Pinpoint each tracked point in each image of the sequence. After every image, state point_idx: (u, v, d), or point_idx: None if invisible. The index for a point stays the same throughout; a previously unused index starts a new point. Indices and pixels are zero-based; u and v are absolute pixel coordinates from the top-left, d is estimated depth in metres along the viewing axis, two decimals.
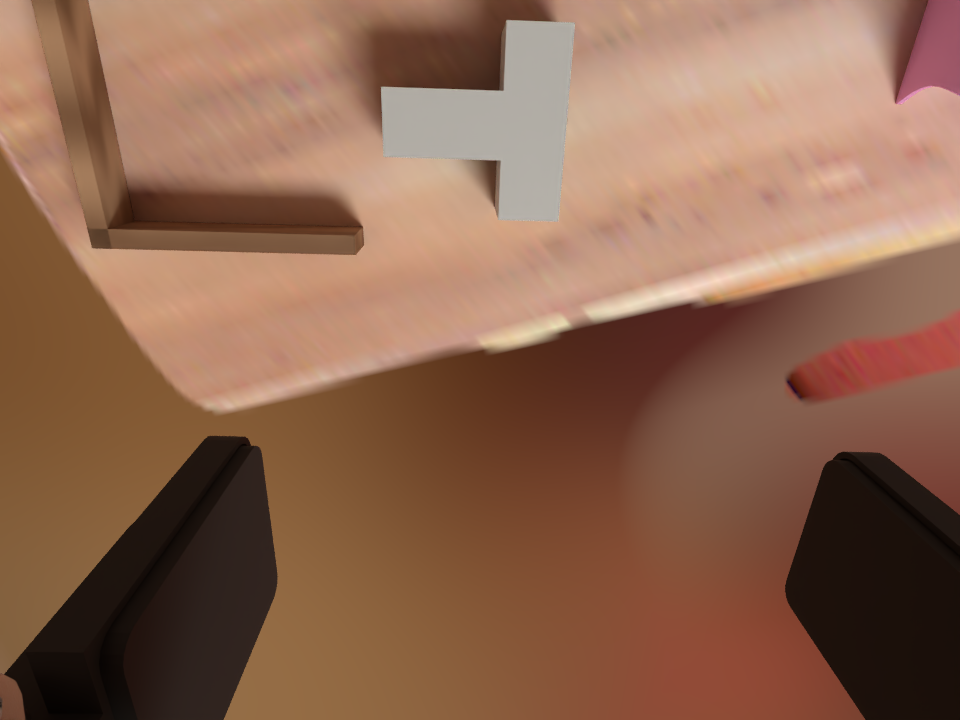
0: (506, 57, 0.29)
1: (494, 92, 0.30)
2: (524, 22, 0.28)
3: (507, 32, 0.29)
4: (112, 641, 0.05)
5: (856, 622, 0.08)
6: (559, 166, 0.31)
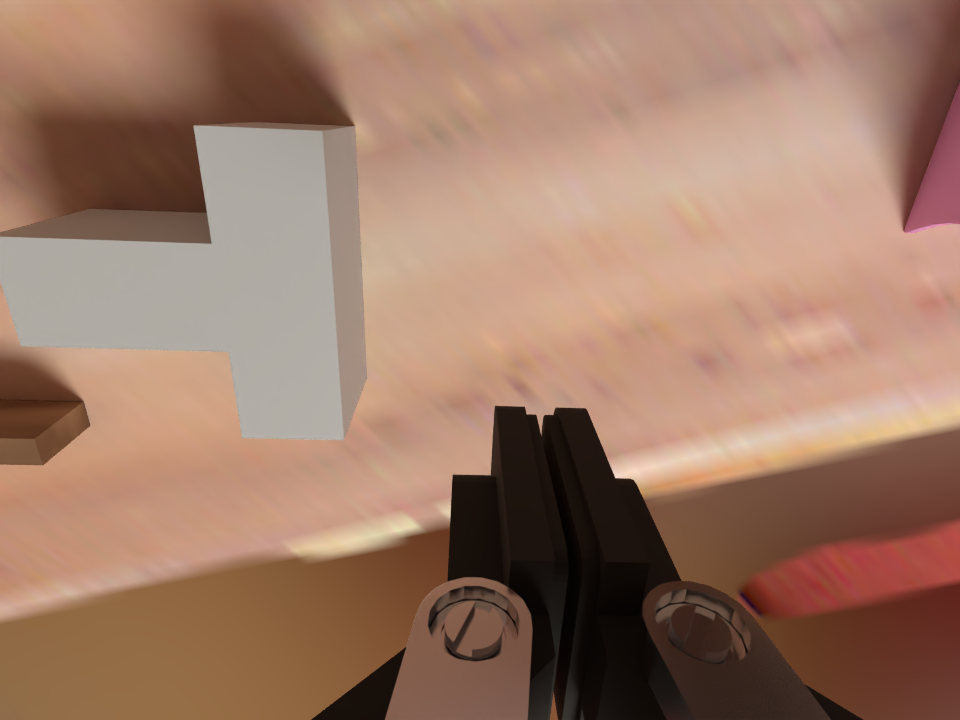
0: (206, 189, 0.16)
1: (195, 246, 0.17)
2: (228, 129, 0.15)
3: (199, 146, 0.15)
4: (556, 556, 0.07)
5: None
6: (332, 360, 0.18)
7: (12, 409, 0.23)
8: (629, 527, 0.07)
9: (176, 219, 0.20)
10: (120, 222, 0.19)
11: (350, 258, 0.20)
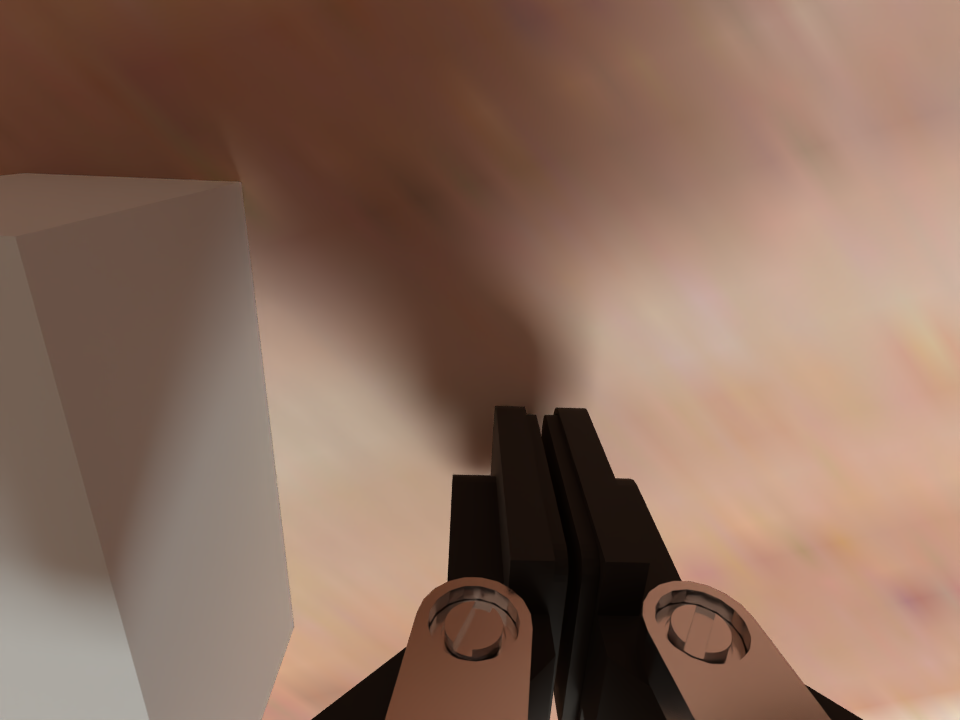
0: None
1: None
2: None
3: None
4: (557, 556, 0.07)
5: None
6: None
7: None
8: (629, 527, 0.07)
9: None
10: None
11: (224, 472, 0.09)
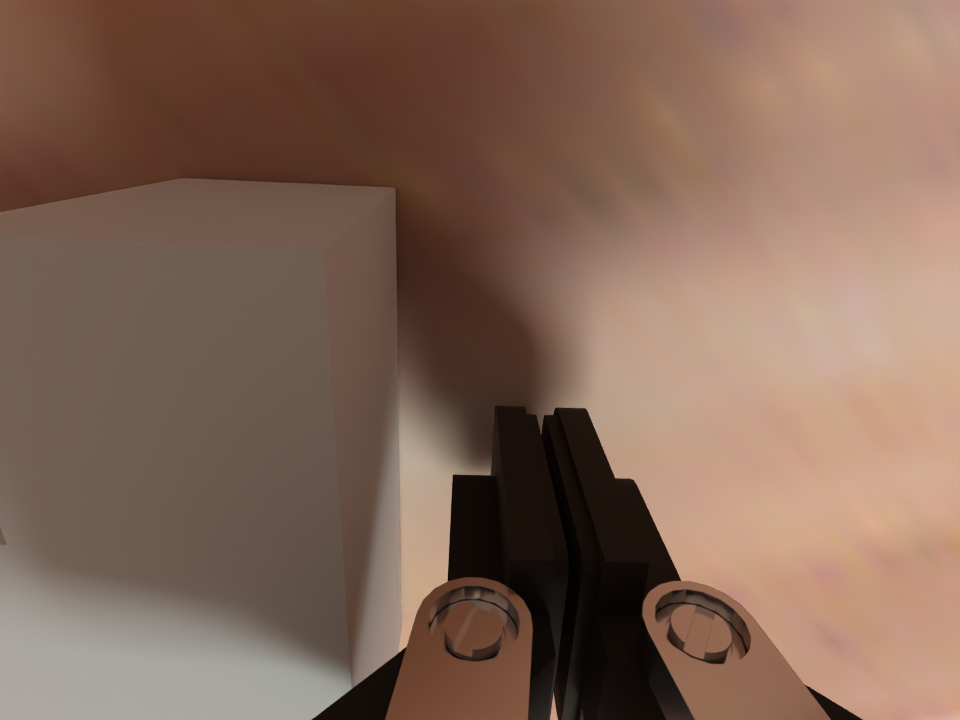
0: None
1: None
2: (14, 244, 0.05)
3: None
4: (557, 556, 0.07)
5: None
6: None
7: None
8: (629, 527, 0.07)
9: None
10: None
11: (383, 476, 0.09)
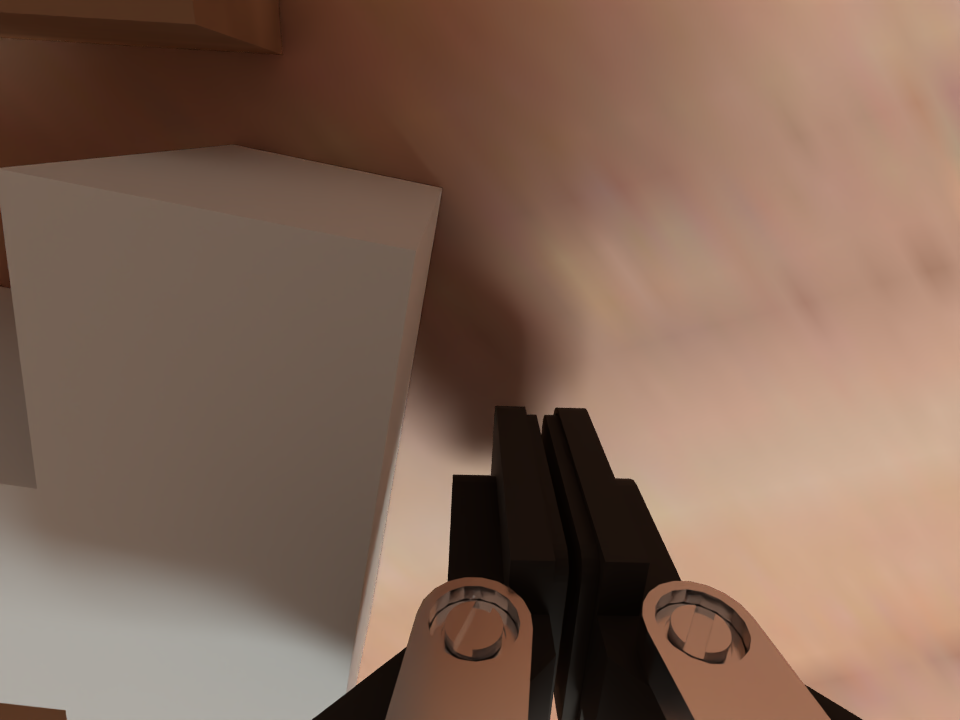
0: (29, 353, 0.05)
1: None
2: (114, 199, 0.05)
3: (12, 235, 0.05)
4: (557, 556, 0.07)
5: None
6: None
7: None
8: (629, 527, 0.07)
9: None
10: None
11: (391, 466, 0.09)
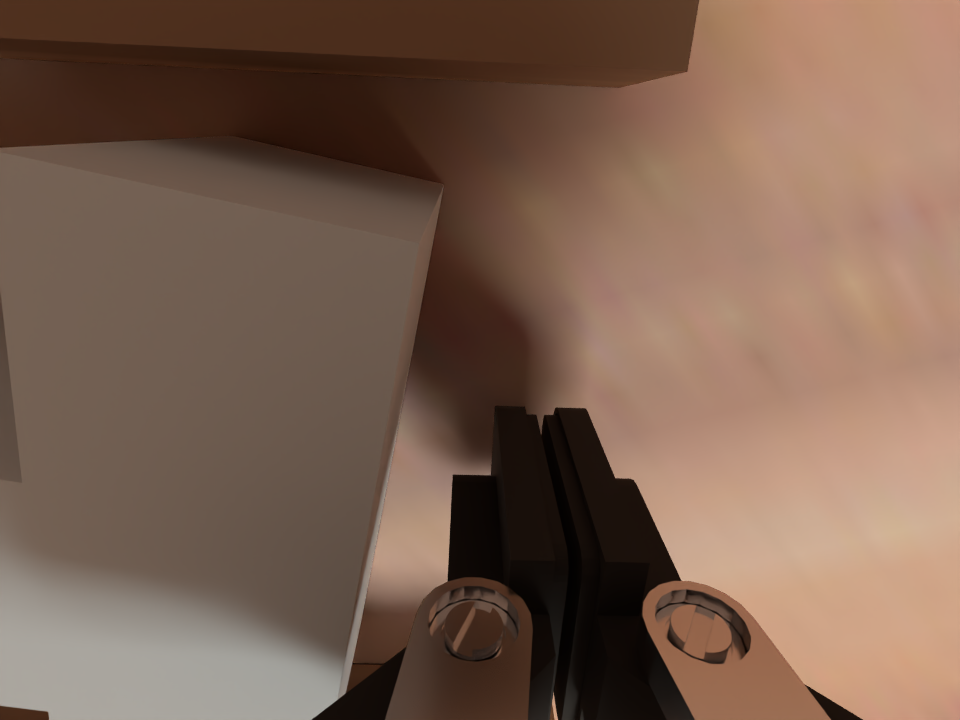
0: (16, 342, 0.05)
1: None
2: (107, 183, 0.05)
3: (0, 219, 0.05)
4: (557, 556, 0.07)
5: None
6: None
7: None
8: (629, 527, 0.07)
9: None
10: None
11: (387, 466, 0.09)
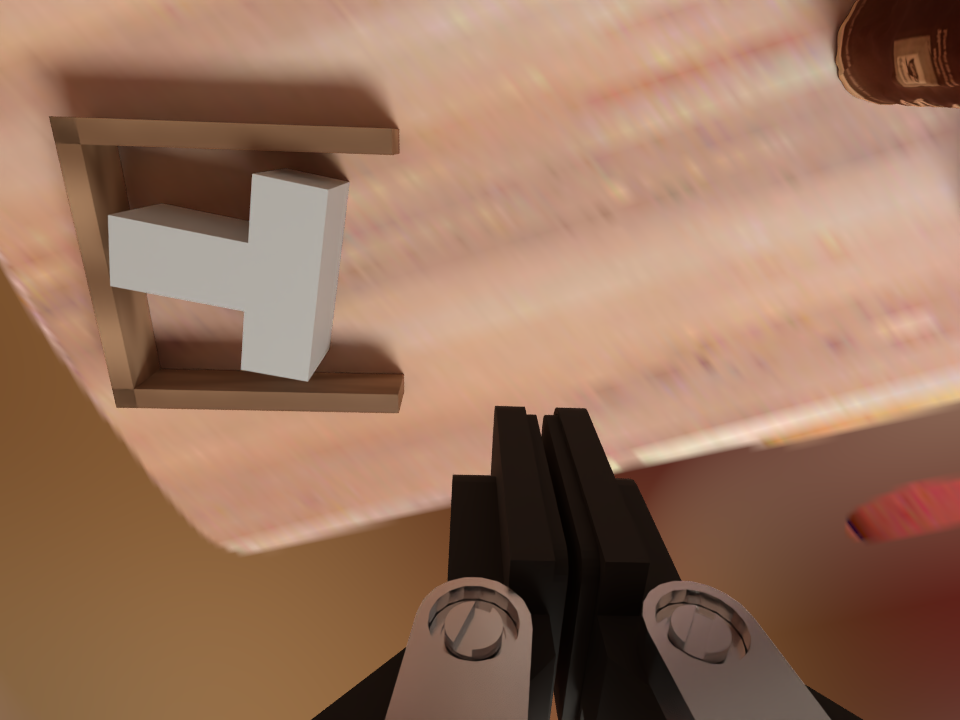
0: (251, 210, 0.26)
1: (237, 243, 0.27)
2: (272, 179, 0.26)
3: (252, 186, 0.26)
4: (556, 556, 0.07)
5: None
6: (309, 327, 0.29)
7: (363, 378, 0.34)
8: (629, 527, 0.07)
9: (221, 221, 0.30)
10: (186, 217, 0.29)
11: (332, 265, 0.30)
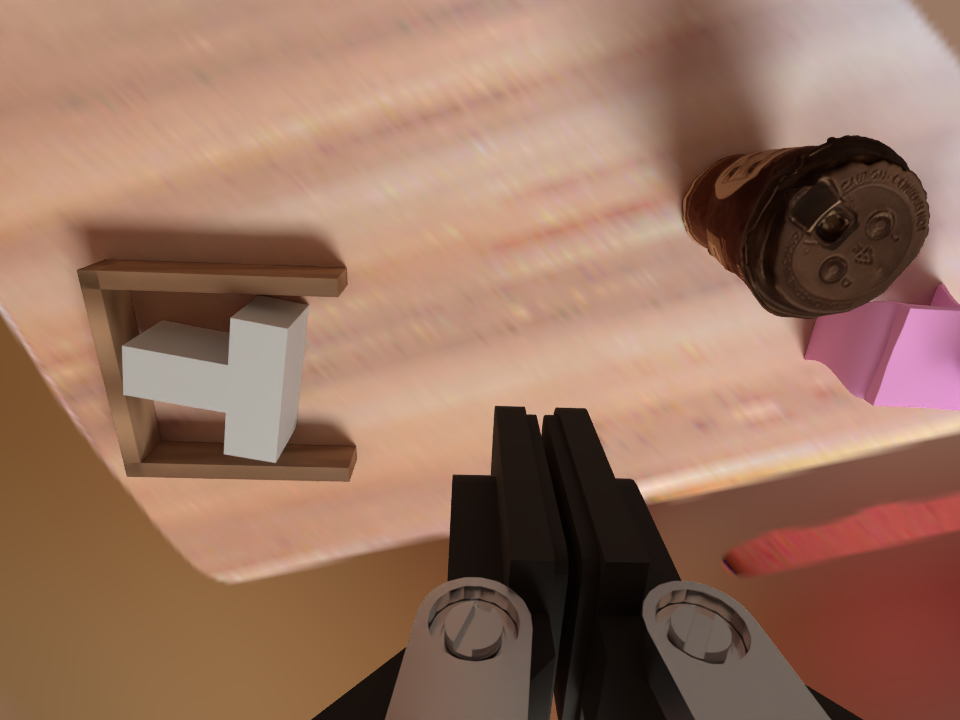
0: (230, 342, 0.35)
1: (220, 365, 0.36)
2: (245, 321, 0.34)
3: (231, 326, 0.35)
4: (556, 556, 0.07)
5: None
6: (276, 424, 0.37)
7: (322, 451, 0.43)
8: (629, 527, 0.07)
9: (209, 337, 0.39)
10: (181, 338, 0.38)
11: (295, 371, 0.39)
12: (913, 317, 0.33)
